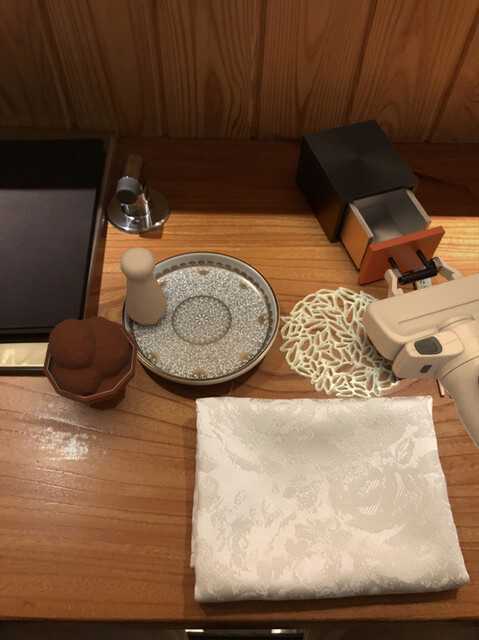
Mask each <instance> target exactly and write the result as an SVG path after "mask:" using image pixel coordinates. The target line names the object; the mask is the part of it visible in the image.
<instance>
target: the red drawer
mask: <svg viewBox="0 0 479 640" xmlns="http://www.w3.org/2000/svg"><path fill="white" fill-rule="evenodd" d="M431 224H432V219H431V217H430V216H429V215H428V214H427V212H426V211H425V209H424V208H423V206H422V205H421V203H420V202H419V200H418V199H417V198H416V196H415V194H414V195H413V193H412V192H411V190H410V189H409V188H405V189H401V190H397V191H393V192H389V193H385V194H381V195H376V196H372V197H368V198H364V199H360V200H356V201H352V202H348V203H346V205H345V208H344V212H343V216H342V219H341V223H340V227H339V230H338V235H339V236H340V238H341V240H342V241H341V242H342V243H343V245H344V247H345V248H346V250H347V252H348V254H349V255H350V257H351V259H352V261H353V262H354V264H355V266H356V268H357V269H358V270H359V272H358V275H357V280H358V282H359V284H360V285H363V284H367V283H370V282H374V281H378V280H382V279H385V276H384V275H385V272H386V270H389V269H393V268H398V270H399V271H398V272H400V273H401V275H402V278H401V279H400V282H399V284H398V285H399V286H401V287H403V286H407V285H409V284H413V283H414V284H415V283H417V282H420V281H423V280H427V279H432V278H434V277H437V276H438V275H439V274H438V271H437V269H436V267H431V265H430V263H429V261H430V259H431V258H434V255H435V253H436V251H437V249H438V247H439V245H440V244H441V241H442V239H443V237H444V235H445V234H446V230H445V229H444V227H443V226H442V225H439V226H438V225H437V226H435V227H431V228H430V226H431ZM420 268H422V269H420ZM417 269H418V270H417ZM413 270H416V271H413ZM409 271H413V272H409ZM406 272H408V273H406ZM403 273H405V274H403Z"/></svg>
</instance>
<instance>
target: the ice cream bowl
mask: <svg viewBox="0 0 479 640" xmlns="http://www.w3.org/2000/svg"><path fill="white" fill-rule="evenodd" d="M138 350H139V344H138V343H137V341H136V340H135V339H134V338H133V336H132V335H131V333H130V331H129V330H128V329H127V328H126V327H125V325H124V324H121V323H117V322H116V321H113V320H111V319H108V318H106V317H104V316H98V315H96V316H88V317H87V318H84V319H81V320H79V319H76V318H66V319H65V320H63V321H62V322H60V323H57V324H56V325H55V327H54V328H53V329H52V331H51V332H50V333H49V336H48V344H47V348H46V351H45V357H44V362H43V367H42V372H43V374H44V375H45V377H46V378H47V380H48V381H49V383H50V385H51V387H52V388H53V389H54V391H55V393H56V394H57V395H59V396H60V397H62V398H65V399H68V400H72V401H74V402H78V403H81V404H84V405H88V407H89V408H91V409H94V410H97V411H101V412H105V411H109V410H113V409H115V408H117V407H118V406H119V404H121V402H122V401H123V400H124V399H125V398H126V391H127V389H126V388H127V385H129V383H130V382H131V381H132V380H133V379H134V377H135V376H136V368H137V359H138Z"/></svg>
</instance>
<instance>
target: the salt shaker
mask: <svg viewBox="0 0 479 640" xmlns="http://www.w3.org/2000/svg"><path fill="white" fill-rule="evenodd" d="M120 270H121V272H122V273H123V275H124V276H125V277H126V288H125V289H126V291H125V303H124V304H125V305H124V306H125V312H126V314H127V315H128V317H129V318H130V319H131V321H134V322H136V323H138V324H139V325H141V326H143V327H144V326H151V325H152V326H153V325H156V324H157V323H158V322H159V321H160V319H161V318H163V316H165V313H166V311H167V309H168V301H167V297H166V295H165V293H164V291H163V289H162V287H161V286H160V283H159V281H158V279H157V278H156V276H155V274H154V271H155V270H156V259H155V256H154V254H153V253H152V252H151V250H150V249H147V248H146V247H140V246H135V247H132V248H129V249H127V250H126V251H124V252H123V254H122V256H121V257H120Z"/></svg>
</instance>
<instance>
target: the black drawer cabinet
mask: <svg viewBox="0 0 479 640" xmlns="http://www.w3.org/2000/svg"><path fill="white" fill-rule="evenodd" d="M298 156H299V157H298V161H297V167H296V174H295V183H296V184H297V186H298V188H299V189H300V191H301V193H302V194H303V196H304V198H305V200H306V202H307V203H308V205H309V207H310V209H311V211H312V212H313V214H314V216H315V218H316V220H317V221H318V224H319V225H320V227H321V229H322V230H323V232H324V234H325V236H326V238H327V240H328V241H329V243H330V244H335V243H338V242H342V240H341V238H340V236H339V235H338V230H339V227H340V223H341V219H342V216H343V212H344V208H345V205H346V203H348V202H352V201H356V200H360V199H364V198H368V197H372V196H376V195H381V194H385V193H389V192H393V191H397V190H401V189H405V188H409V189H410V190H411V192H412V193H413V195H414V196H415V194H416V191H417V189H418V187H419V184H420V180H419V178H418V177H417V176H416V175H415V173H414V171H413V170H412V168H411V167H410V166H409V165H408V163H407V162H406V161H405V159H404V157H403V156H402V154H401V153H400V152H399V151H398V149H397V147H396V146H395V145H394V143H393V141H391V139H390V138H389V137H388V135H387V134H386V133H385V131H384V130H383V128H382V126H381V125H380V124H379V123H378V121H377V119H376V118H373V119H369V120H363V121H359V122H355V123H351V124H346V125H341V126H335V127H332V128H327V129H322V130H318V131H313V132H309V133H308V132H307V133H305V134H302V137H301V142H300V150H299V155H298Z"/></svg>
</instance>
